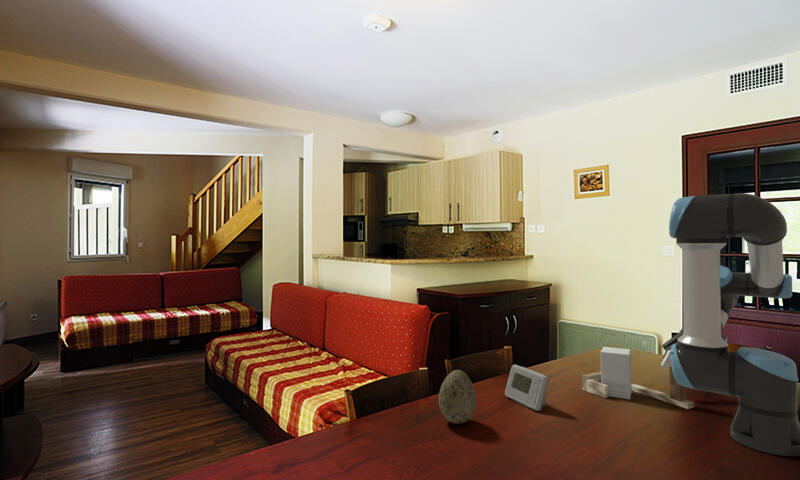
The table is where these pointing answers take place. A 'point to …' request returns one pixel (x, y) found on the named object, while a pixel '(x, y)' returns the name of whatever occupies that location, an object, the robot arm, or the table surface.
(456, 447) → the table surface
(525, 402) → the digital clock
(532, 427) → the table surface
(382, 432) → the table surface
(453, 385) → the decorative egg
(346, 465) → the table surface
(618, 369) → the supplement box
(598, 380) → the hooked slat
